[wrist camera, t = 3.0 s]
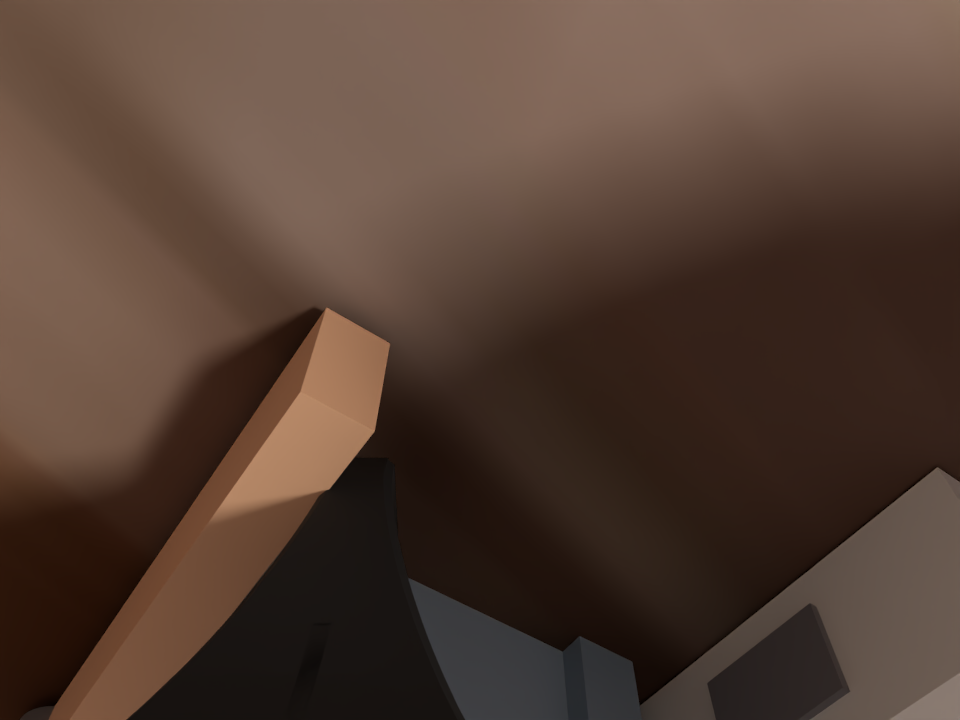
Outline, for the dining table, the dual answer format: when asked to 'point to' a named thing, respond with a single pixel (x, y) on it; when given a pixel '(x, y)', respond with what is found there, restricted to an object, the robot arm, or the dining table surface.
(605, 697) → the plug
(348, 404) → the wooden block bar
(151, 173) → the dining table surface
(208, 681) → the robot arm
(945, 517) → the power strip
